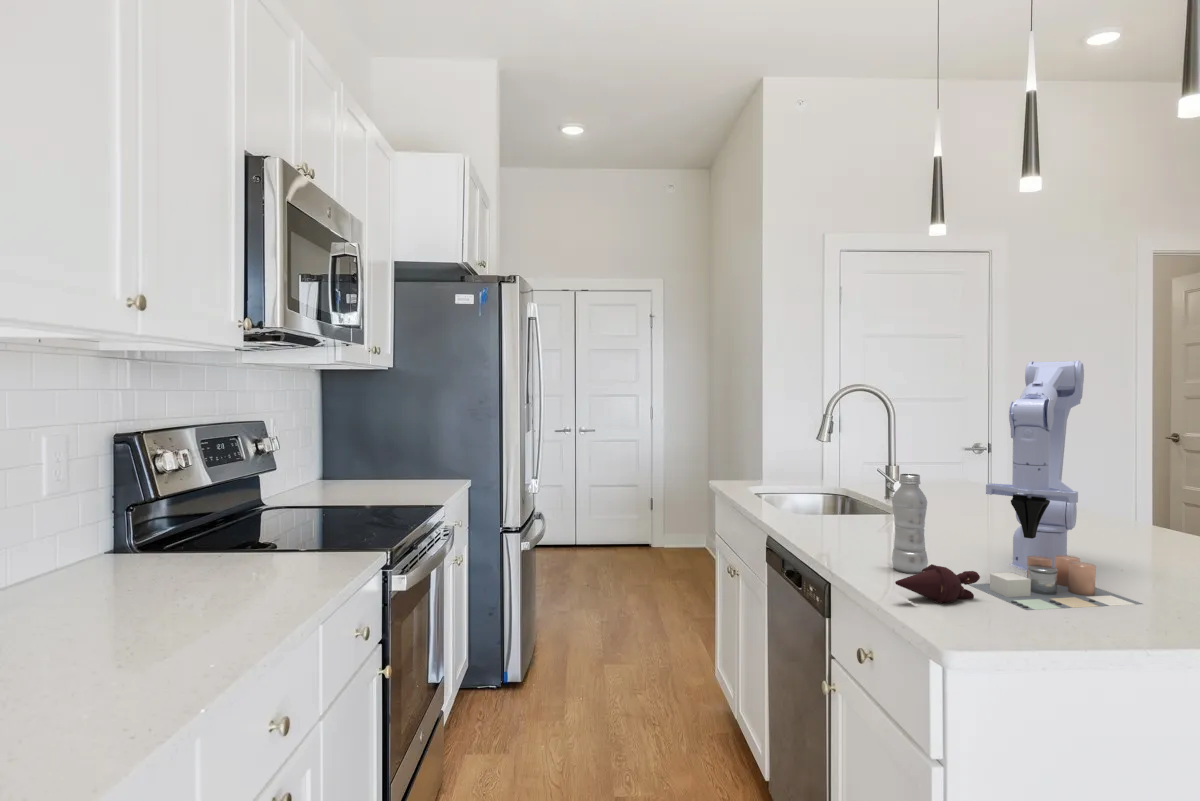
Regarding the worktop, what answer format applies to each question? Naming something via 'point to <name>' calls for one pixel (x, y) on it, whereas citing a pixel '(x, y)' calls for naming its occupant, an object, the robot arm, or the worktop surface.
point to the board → (1061, 599)
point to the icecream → (940, 584)
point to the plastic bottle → (909, 526)
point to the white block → (1010, 584)
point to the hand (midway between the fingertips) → (1029, 537)
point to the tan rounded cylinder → (1082, 578)
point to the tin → (1043, 579)
